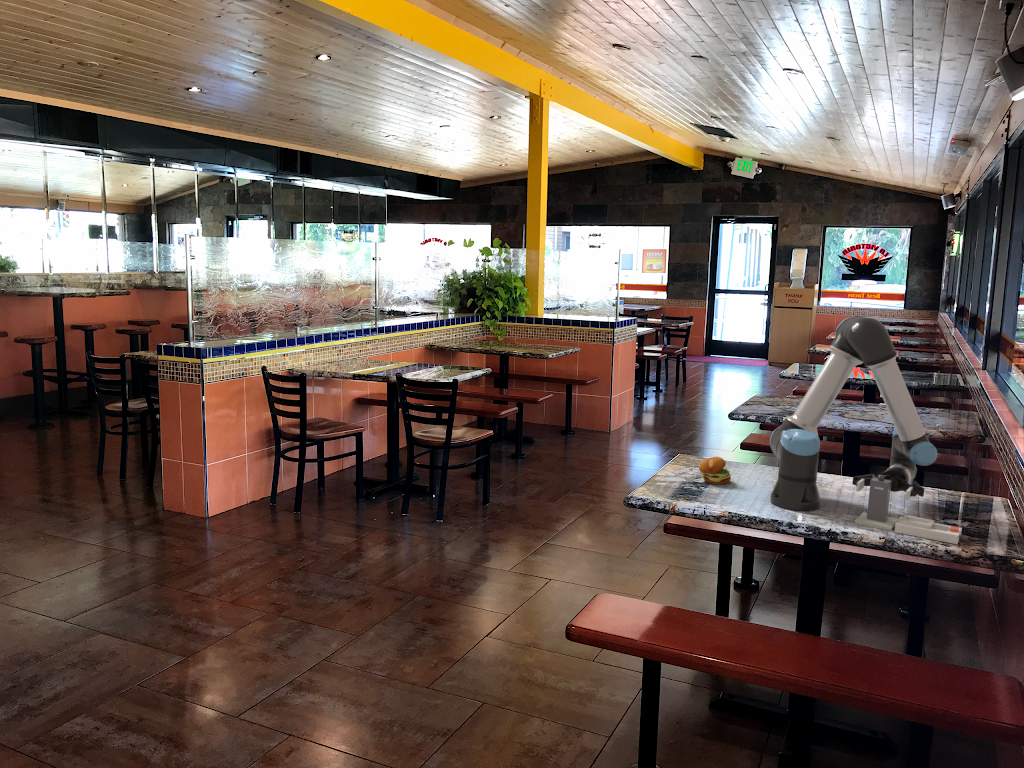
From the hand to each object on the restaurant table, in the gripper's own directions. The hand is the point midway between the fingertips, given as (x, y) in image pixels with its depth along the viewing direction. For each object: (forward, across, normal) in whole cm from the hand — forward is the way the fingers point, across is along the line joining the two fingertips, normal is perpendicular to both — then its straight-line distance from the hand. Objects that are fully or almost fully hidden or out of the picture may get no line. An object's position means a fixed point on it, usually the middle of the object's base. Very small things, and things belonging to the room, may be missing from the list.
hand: (882, 491), depth 236 cm
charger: (0, 0, -9) cm, 9 cm away
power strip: (+2, -14, -10) cm, 17 cm away
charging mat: (+1, 0, -10) cm, 10 cm away
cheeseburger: (-11, +56, -10) cm, 58 cm away
